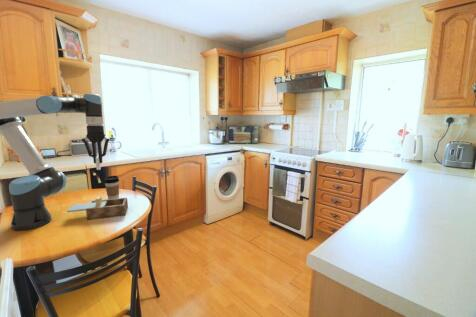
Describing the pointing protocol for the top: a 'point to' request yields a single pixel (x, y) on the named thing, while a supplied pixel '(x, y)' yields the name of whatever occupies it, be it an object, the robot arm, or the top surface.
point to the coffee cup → (112, 187)
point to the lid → (87, 205)
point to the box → (108, 209)
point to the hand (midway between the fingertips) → (98, 169)
